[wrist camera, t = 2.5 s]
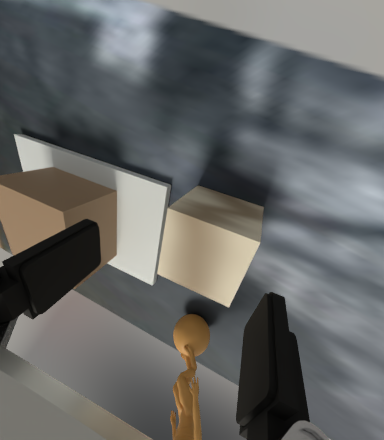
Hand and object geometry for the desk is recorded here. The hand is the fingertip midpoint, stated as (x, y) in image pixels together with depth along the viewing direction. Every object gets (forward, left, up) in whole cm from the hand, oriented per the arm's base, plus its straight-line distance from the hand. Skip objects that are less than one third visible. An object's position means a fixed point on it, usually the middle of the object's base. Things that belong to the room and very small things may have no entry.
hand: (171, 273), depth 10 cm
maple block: (-1, 0, -8) cm, 8 cm away
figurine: (-3, +13, -8) cm, 16 cm away
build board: (+13, +4, -7) cm, 16 cm away
